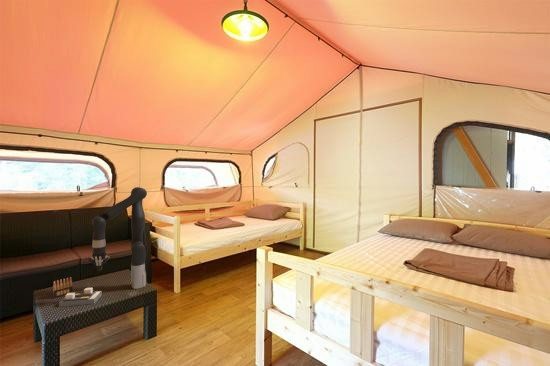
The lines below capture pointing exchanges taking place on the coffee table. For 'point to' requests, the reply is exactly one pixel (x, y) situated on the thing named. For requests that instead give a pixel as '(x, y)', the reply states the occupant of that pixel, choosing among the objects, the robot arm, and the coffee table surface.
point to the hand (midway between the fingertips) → (99, 270)
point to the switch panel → (81, 299)
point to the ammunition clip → (62, 288)
